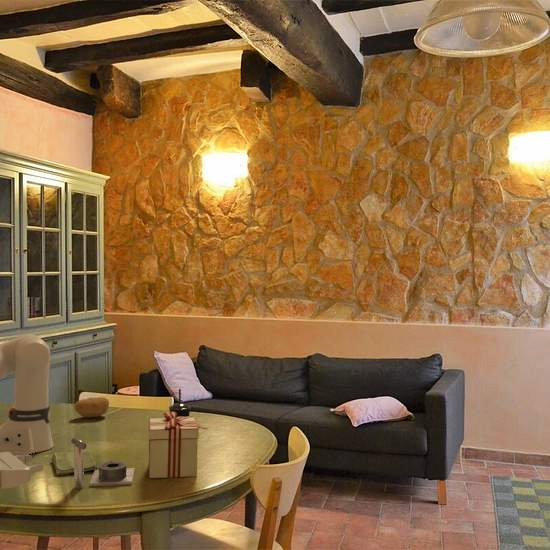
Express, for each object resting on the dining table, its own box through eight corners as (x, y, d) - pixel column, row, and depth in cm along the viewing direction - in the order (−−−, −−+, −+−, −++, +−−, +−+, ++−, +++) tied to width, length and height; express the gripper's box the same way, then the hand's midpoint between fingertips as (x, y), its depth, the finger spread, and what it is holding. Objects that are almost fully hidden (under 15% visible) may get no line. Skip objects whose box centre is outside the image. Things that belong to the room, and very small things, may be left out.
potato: (73, 416, 272) (72, 397, 272) (107, 413, 278) (107, 394, 278) (75, 421, 264) (75, 402, 263) (111, 418, 269) (110, 399, 269)
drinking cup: (194, 443, 233) (194, 387, 233) (183, 449, 226) (183, 392, 226) (176, 441, 237) (176, 386, 236) (164, 446, 230) (164, 390, 229)
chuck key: (88, 489, 188) (87, 442, 187) (79, 491, 186) (79, 443, 186) (78, 482, 193) (78, 436, 193) (70, 484, 192) (69, 438, 191)
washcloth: (56, 478, 198) (56, 468, 198) (50, 461, 214) (50, 452, 214) (100, 472, 204) (100, 462, 203) (91, 456, 220) (91, 447, 220)
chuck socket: (89, 486, 190) (89, 472, 190) (95, 472, 202) (94, 460, 202) (131, 484, 192) (131, 471, 192) (134, 471, 204) (134, 458, 204)
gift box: (210, 475, 200) (210, 419, 200) (149, 481, 195) (149, 424, 194) (201, 458, 216) (201, 407, 216) (144, 463, 211) (144, 410, 211)
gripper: (-26, 474, 181) (25, 464, 190) (-6, 495, 165) (49, 483, 174) (-26, 451, 181) (25, 442, 190) (-6, 470, 165) (49, 459, 174)
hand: (37, 462), depth 182 cm, fingers open, 8 cm apart
